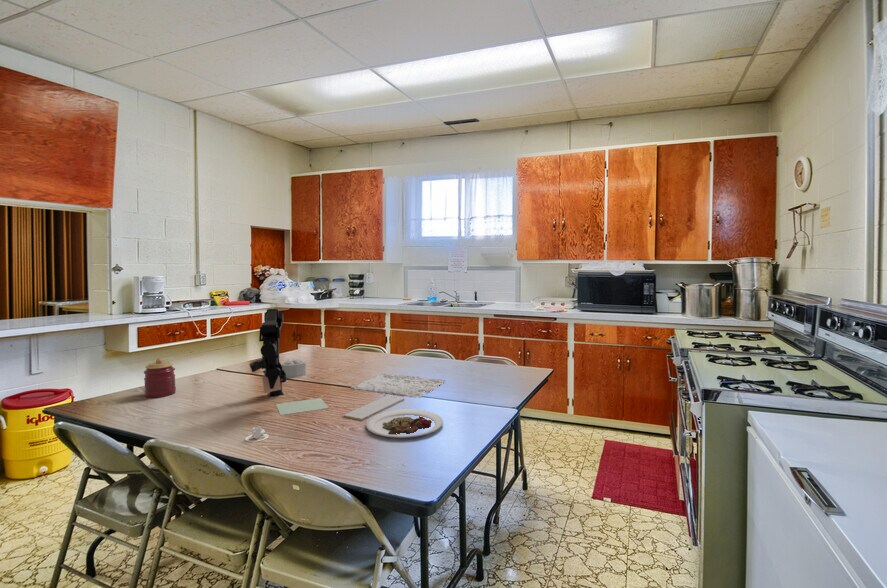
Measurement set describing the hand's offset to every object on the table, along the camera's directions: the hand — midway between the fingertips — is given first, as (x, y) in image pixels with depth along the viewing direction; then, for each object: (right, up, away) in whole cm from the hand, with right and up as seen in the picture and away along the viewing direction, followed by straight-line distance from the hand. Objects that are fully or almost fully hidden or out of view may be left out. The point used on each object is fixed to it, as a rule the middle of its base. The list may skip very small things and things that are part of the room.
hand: (271, 388), depth 200 cm
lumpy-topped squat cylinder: (-10, -5, +58) cm, 59 cm away
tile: (0, -1, 0) cm, 1 cm away
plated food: (+60, -11, -20) cm, 64 cm away
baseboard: (+44, -10, +2) cm, 45 cm away
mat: (+12, -9, +3) cm, 16 cm away
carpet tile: (+52, -7, +37) cm, 65 cm away
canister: (-63, -8, +23) cm, 67 cm away
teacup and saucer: (+9, -12, -30) cm, 34 cm away
